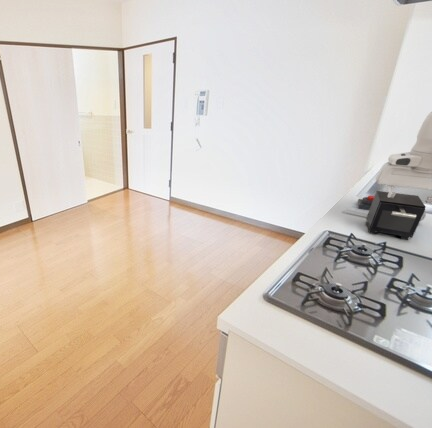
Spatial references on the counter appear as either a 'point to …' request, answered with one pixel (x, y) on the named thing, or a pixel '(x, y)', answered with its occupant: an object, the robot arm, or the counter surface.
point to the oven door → (397, 219)
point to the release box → (364, 203)
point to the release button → (370, 198)
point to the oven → (398, 199)
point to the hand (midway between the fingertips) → (409, 200)
